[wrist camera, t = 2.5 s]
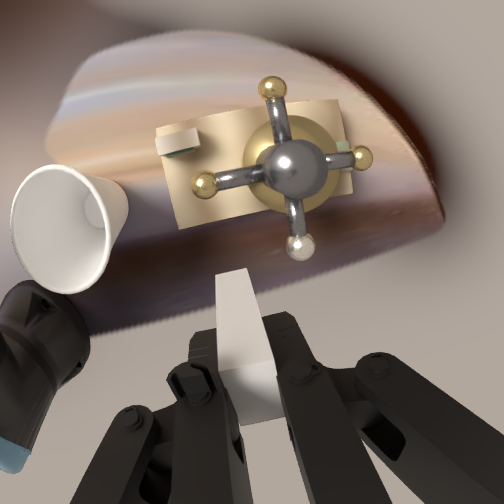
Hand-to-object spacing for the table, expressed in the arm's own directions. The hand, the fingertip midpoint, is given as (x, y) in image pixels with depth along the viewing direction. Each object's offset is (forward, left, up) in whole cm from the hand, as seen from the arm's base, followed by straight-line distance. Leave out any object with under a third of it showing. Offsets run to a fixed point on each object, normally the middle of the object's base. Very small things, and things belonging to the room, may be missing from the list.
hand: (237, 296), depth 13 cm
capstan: (+6, +5, -14) cm, 16 cm away
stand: (+5, +6, -17) cm, 18 cm away
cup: (-12, +5, -17) cm, 21 cm away
